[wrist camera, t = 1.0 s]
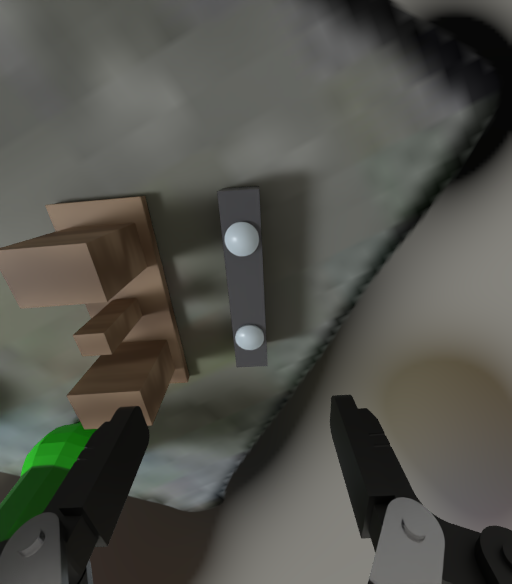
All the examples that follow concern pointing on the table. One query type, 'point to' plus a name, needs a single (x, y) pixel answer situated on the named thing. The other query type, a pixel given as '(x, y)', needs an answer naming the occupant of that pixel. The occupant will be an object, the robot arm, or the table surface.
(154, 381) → the display stand
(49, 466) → the plastic bottle
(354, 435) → the robot arm
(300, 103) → the table surface
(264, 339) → the grey bar with knobs
